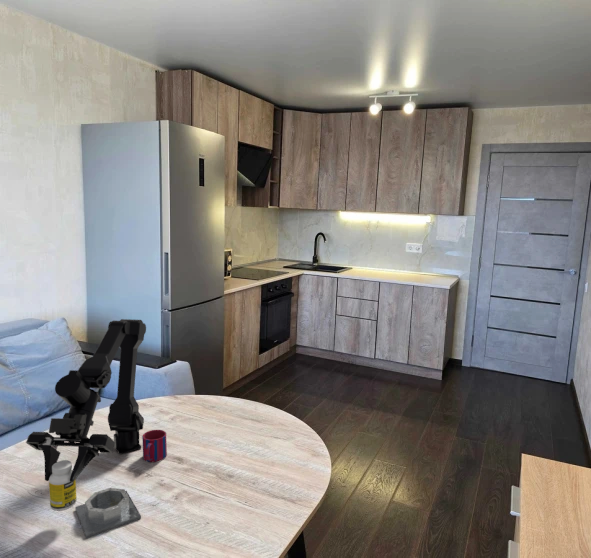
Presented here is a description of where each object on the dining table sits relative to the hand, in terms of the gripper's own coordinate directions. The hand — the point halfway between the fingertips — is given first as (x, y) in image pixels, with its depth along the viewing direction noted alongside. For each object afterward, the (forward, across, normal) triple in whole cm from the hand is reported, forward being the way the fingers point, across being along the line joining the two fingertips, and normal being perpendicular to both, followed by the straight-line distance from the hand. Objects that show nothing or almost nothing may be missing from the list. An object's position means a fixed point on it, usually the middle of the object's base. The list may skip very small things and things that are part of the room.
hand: (58, 481), depth 104 cm
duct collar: (+4, +8, +12) cm, 15 cm away
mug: (-13, +10, +30) cm, 34 cm away
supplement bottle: (+4, 0, +6) cm, 7 cm away
